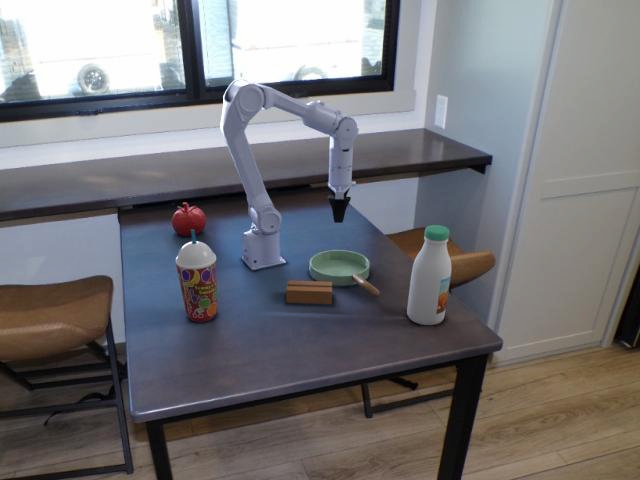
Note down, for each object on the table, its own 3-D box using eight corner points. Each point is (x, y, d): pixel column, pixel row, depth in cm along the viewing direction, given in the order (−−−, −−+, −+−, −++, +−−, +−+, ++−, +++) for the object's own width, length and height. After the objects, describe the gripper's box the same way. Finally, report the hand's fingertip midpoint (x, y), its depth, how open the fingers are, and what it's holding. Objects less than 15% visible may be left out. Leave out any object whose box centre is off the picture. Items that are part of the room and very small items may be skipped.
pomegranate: (213, 233, 153) (210, 203, 148) (182, 241, 148) (178, 211, 144) (197, 223, 160) (194, 194, 155) (167, 231, 155) (163, 201, 151)
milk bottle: (423, 330, 106) (436, 239, 96) (398, 313, 112) (408, 226, 102) (452, 320, 109) (467, 231, 99) (426, 303, 115) (438, 218, 105)
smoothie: (205, 329, 108) (195, 241, 98) (175, 319, 112) (162, 233, 102) (229, 311, 114) (222, 226, 104) (199, 302, 118) (190, 219, 108)
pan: (326, 292, 120) (327, 281, 119) (299, 267, 132) (299, 256, 131) (380, 279, 125) (381, 268, 124) (349, 256, 137) (350, 245, 135)
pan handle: (350, 280, 122) (350, 273, 121) (357, 278, 123) (357, 271, 122) (374, 299, 114) (374, 292, 113) (381, 297, 114) (381, 290, 114)
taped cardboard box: (286, 304, 116) (286, 289, 115) (288, 294, 120) (288, 280, 119) (331, 305, 115) (331, 291, 113) (331, 295, 119) (332, 281, 117)
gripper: (357, 173, 123) (354, 227, 129) (356, 157, 135) (353, 207, 142) (327, 173, 123) (326, 227, 130) (329, 157, 136) (327, 206, 143)
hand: (338, 216), depth 136 cm, fingers open, 7 cm apart
